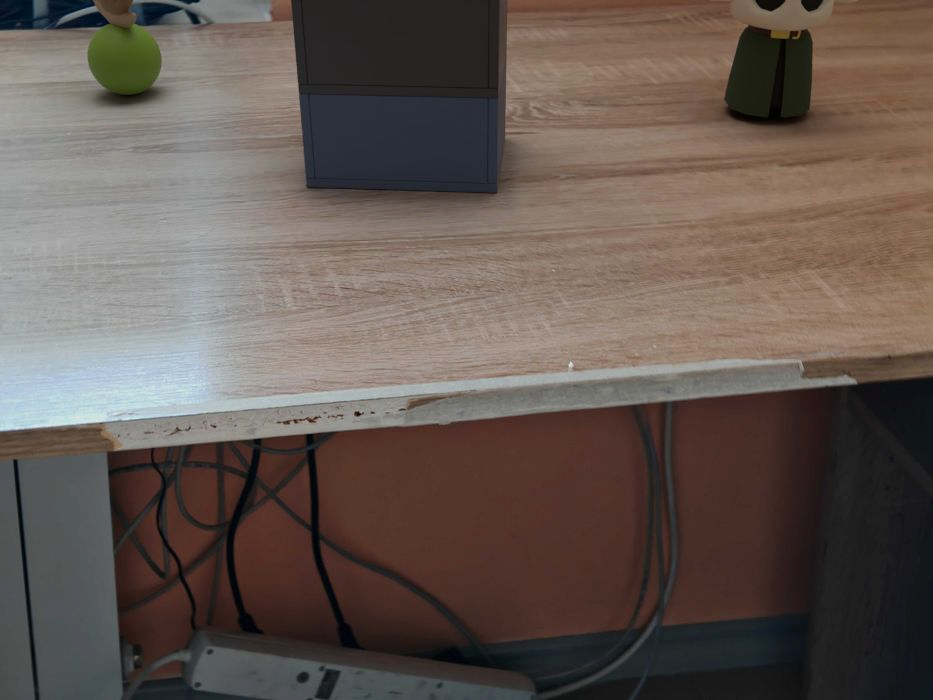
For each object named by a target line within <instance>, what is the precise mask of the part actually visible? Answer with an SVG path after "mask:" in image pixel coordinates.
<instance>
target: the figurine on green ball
mask: <svg viewBox="0 0 933 700" xmlns="http://www.w3.org/2000/svg"><path fill="white" fill-rule="evenodd" d="M92 1H93V3H94V5H95V7H96V10H98V12H99V13H100V14H101V15H102V16H103V17H104V18H105V19H106V20H107V22H108V24H105V25H103V26H102V27H100V28H99V29H98V30H97V31H95V33H94V35H92V38H91V39H90V41H89V44H88V46H87V47H88V48H87V53H86V55H87V63H88V67H89V69H90V73H91V74H92V76H93V77H94V79H95V80H96V81H97V83H98V84H99V85H101V86H102V87H103V88H104V89H106V90H108V91H109V92H111V93H114V94H118V95H123V96H131V95H132V96H133V95H137V94H140V93H141V94H142V92H145V91H147V90H148V89H150V88H151V87H152V86H153V85H154V84H155V82H156V81H157V79H158V78H159V76H160V73H161V70H162V63H163V62H162V61H163V59H162V58H163V57H162V53H161V49H160V47H159V44H158V42H157V40H156V39H155V37H154V36H153V34H151V32H149V31H148V30H147V29H145V28H144V27H142V26H140V25H138V24H136V20H137V14H136V13H135V12H133V11H132V12H130V9H131V8H132V5H133V2H134V0H92Z"/></svg>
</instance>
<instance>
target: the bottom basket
mask: <svg viewBox="0 0 933 700" xmlns="http://www.w3.org/2000/svg"><path fill="white" fill-rule="evenodd" d="M507 54H508V53H507V52H506V58H505V63H504V69H503V74H502V80H501V86H500V91H499V97H498V98H463V97H422V96H380V95H338V94H300V93H298V98H299V99H298V100H299V111H300V122H301V134H302V146H303V147H302V148H303V159H304V171H305V181H306V182H305V185H306V188H322V189H324V188H325V189H328V188H329V189H358V190H360V189H361V190H392V191H423V192H426V191H427V192H453V193H454V192H455V193H456V192H457V193H491V194H493V193H495V194H496V193H498V189H499V182H500V175H501V168H502V161H503V154H504V147H505V140H506V117H507V115H506V112H507V111H506V110H507V56H508V55H507Z"/></svg>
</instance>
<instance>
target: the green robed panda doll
mask: <svg viewBox="0 0 933 700" xmlns="http://www.w3.org/2000/svg"><path fill="white" fill-rule="evenodd" d="M709 1H710V2H728V3H729V9H730V12H731V17H732V18H734V19H735V20H736V21H739V22H740V23H742V24H745V25H747V26H746V27H745V28H744V29H743V30H742V32H741V34H740V35H739V37H738V38H739V39H738V42H737V45H736V50H735V53H734V57H733V60H732V65H731V68H730V73H729V75H728V79H727V84H726V89H725V92H724V93H725V94H724V97H723V100H724V101H725V103H726V104H727V106H728V107H729V108H730V109H731V110H733V111H736V112H738V113H740V114H744V115H746V116H747V115H748V116H753V117H759V118H769V114H770V109H771V108H780V110H781V111H780V118H785V119H786V118H792V117H797V116H802V115H803V114H805V113H807V112H809V111H810V110H811V101H812V86H813V56H814V55H813V53H814V51H813V49H814V42H813V37H812V35H811V32H810V31H809V29H813V28H816V27H820V26H822V25H824V24H826V23H827V22H828V20H829V18H830V17H831V15H832V14H833V10H834V5H835V4H853V3H857V2H859V0H709Z"/></svg>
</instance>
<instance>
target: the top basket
mask: <svg viewBox="0 0 933 700" xmlns="http://www.w3.org/2000/svg"><path fill="white" fill-rule="evenodd" d="M290 3H291V15H292V28H293V29H292V30H293V39H294V52H295V64H296V75H297V76H296V77H297V88H298V94H338V95H380V96H422V97H463V98H498V97H499V91H500V86H501V80H502V74H503V69H504V63H505V58H506V53H507V51H508V43H507V42H508V0H290Z"/></svg>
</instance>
